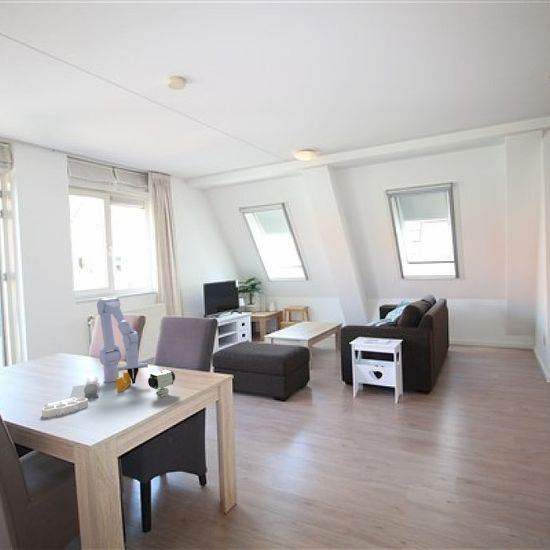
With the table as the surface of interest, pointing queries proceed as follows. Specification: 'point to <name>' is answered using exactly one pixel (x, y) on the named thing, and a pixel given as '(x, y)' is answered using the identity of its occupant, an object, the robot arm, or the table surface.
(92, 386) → the duct pipe
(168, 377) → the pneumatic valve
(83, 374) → the table surface
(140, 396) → the table surface
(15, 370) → the table surface
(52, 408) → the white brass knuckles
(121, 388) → the orange notched block
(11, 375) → the table surface
